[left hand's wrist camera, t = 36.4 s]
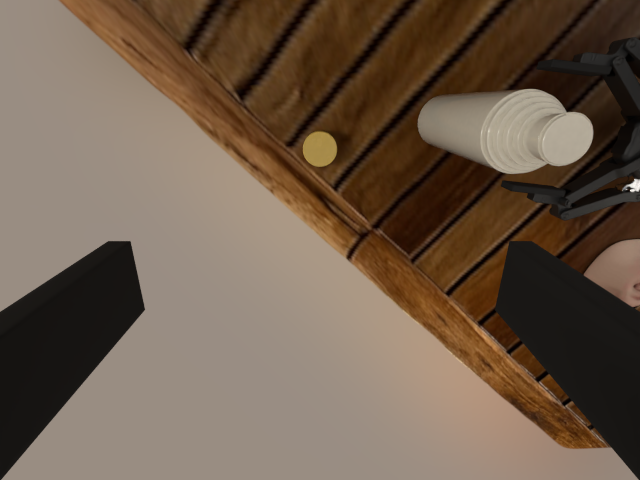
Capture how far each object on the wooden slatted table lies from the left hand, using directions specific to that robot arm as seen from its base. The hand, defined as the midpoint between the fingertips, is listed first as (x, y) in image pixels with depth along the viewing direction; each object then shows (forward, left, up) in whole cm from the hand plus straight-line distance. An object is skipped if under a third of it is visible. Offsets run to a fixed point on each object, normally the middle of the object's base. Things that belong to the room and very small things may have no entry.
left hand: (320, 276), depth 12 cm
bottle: (-13, +11, -39) cm, 42 cm away
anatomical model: (-15, +50, -39) cm, 65 cm away
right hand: (-17, +17, -32) cm, 40 cm away
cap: (0, 0, -37) cm, 37 cm away
